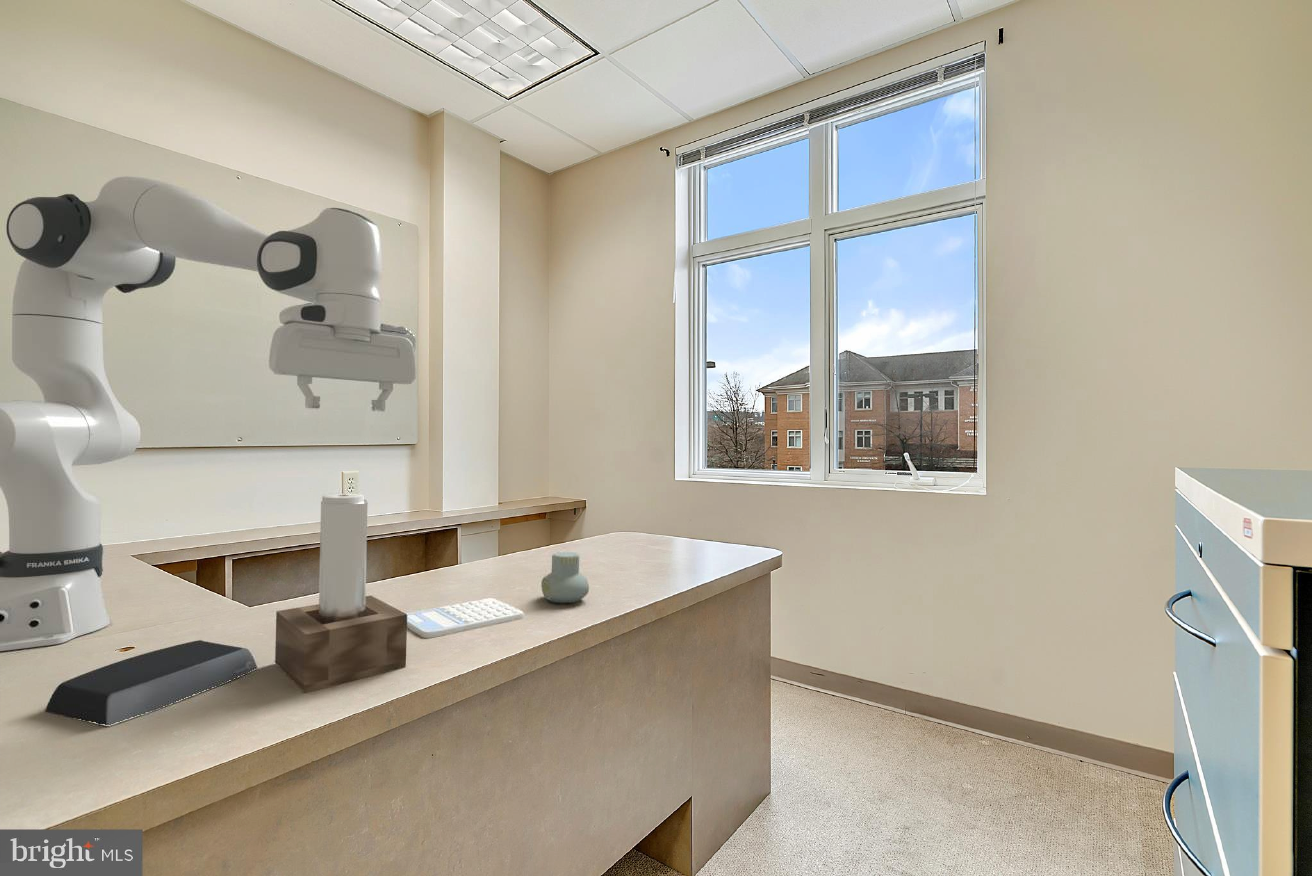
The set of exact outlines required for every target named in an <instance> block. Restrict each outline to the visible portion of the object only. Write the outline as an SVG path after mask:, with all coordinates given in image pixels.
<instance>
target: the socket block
mask: <svg viewBox="0 0 1312 876" xmlns="http://www.w3.org/2000/svg"><path fill="white" fill-rule="evenodd" d="M275 614H276V616H275V617H276V619H275V646H274V648H275V650H274V651H275V652H274V653H275V655H274V659H275V660H274V664H275V663H276V664H277V665H278V666H279V667H280V668H281V669H282V670H283V671H284V672H285V673H286V674H287V675H286V674H285V673H284V672H283V671H282V670H281V669H280V668H279V667H278V666H277V665H276V664H275V665H276V666H277V667H278V668H279V669H280V670H281V671H282V672H283V673H284V674H285V675H286V677H288V676H289V677H288V678H289V679H290V678H291V679H290V680H291V681H292V680H293V681H294V682H293V681H292V682H293V683H294V684H295V683H296V684H295V685H296V686H297V685H298V686H297V688H299V689H300V690H301V691H302V692H303V693H309V692H313V691H316V690H320V689H324V688H328V687H331V686H335V685H339V684H343V683H347V682H351V681H356V680H359V679H363V678H366V677H370V676H375V675H379V674H383V673H386V672H389V671H394V670H398V669H401V668H405V667H407V642H408V641H407V640H408V639H407V636H408V633H407V631H408V627H407V614H405V612H404V611H401V610H400V609H398V608H396V607H394V606H392V605H390V604H388V603H386V602H384V601H382V600H381V599H379V598H377V597H375V596H374V595H367V596H366V600H365V617H359V618H354V619H349V620H344V621H338V622H333V623H328V624H321V623H319V603H318V604H312V605H306V606H300V607H293V608H289V609H288V608H287V609H281V610H276V612H275ZM312 690H313V691H312Z"/></svg>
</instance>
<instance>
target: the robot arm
mask: <svg viewBox="0 0 1312 876" xmlns="http://www.w3.org/2000/svg"><path fill="white" fill-rule="evenodd" d="M5 226H6V235H7V239H8V241H9V244H10V246H11V247H12V248H13V250H14V252H15V253H16V254H18V255H19V256H21V257H23V259H24V260H23V261H22V262H21V264H20V266H19V270H18V273H17V275H16V280H15V285H14V290H13V296H12V298H13V299H12V309H11V310H12V313H11V359H12V363H14V366H15V367H16V368H17V369H18V370H19V371H21V373H23V374H25V375H27V376H28V377H30V378H31V379H32V380H33V381H34V382H35V383H36V385H37V386H38V388H39V389H40V391H41V394H42V395H43V399H44V401H41V400H40V401H39V400H38V401H37V400H19V399H17V400H5V401H0V490H1V491H2V494H3V496H4V498H5V501H6V504H7V510H8V539H9V540H8V541H9V542H8V550H6V551H4V552H3V551H0V652H3V651H5V652H6V651H11V650H13V651H15V650H20V649H28V648H35V647H45V646H53V645H59V644H62V643H65V642H68V641H70V640H72V639H74V638H76V637H80V636H83V635H85V634H86V635H87V634H89V633H92V632H96V631H98V630H101V629H103V628H105V627H107V626H108V625H109V624H110V623H111V619H110V615H109V613H108V611H107V608H106V604H105V599H104V595H103V589H102V582H101V576H102V575H103V572H104V566H105V565H104V564H105V561H104V559H105V555H104V553H105V551H104V546H103V544H102V543H101V542H100V540H101V508H102V507H101V502H100V500H99V498H97V496H95V495H94V494H93V493H92V492H91V493H90V492H89V491H86V490H84V489H83V488H82V487H81V486H80V485H79V484H78V481H77V480H76V478H75V475H74V471H73V466H91V465H92V466H93V465H100V464H101V465H102V464H107V463H109V462H114V461H117V460H121V459H124V458H127V457H129V456H130V455H132V453H134V452H135V451H136V449H137V448H138V446H139V445H140V442H141V434H142V433H141V427H140V424H139V422H138V420H137V419H136V417H135V416H133V414H131V413H130V412H129V411H128V410H127V409H125V408H124V407H123V405H122V404H121V403H120V402H119V401H118V399H117V397H116V395H115V393H114V392H113V390H112V387H111V385H110V383H109V382H110V381H109V380H108V377H107V374H106V369H105V362H104V361H105V360H104V336H103V335H104V331H103V330H104V329H103V328H104V327H103V326H104V325H103V324H104V317H103V315H104V314H103V300H104V296H105V294H106V293H107V292H108V291H109V290H110V289H111V288H113V287H115V288H116V289H117V290H118V291H120V292H121V293H123V294H126V293H127V294H128V293H133V292H135V291H136V290H139V289H141V290H142V289H147V288H153V287H157V286H161V285H162V284H164V283H165V282H166V281H168V280H169V279H170V277H171V276H172V274H173V273H174V270H175V268H176V258H177V259H183V260H187V261H193V262H199V263H204V264H211V265H218V266H223V267H230V268H236V269H241V270H248V271H252V272H258V275H259V277H260V279H261V281H262V282H263V284H264V285H265V286H267V288H269V289H270V290H273V291H275V292H277V293H279V294H281V295H286V296H288V297H292V298H294V299H298V300H301V301H305V302H306V303H303V304H296V305H292V306H288V307H285V308H284V309H282V310H281V311H280V312H279V315H278V319H279V322H280V323H281V326H279V327H278V328H276V329H275V331H274V333H273V335H272V339H271V343H270V348H269V357H268V358H269V359H268V368H269V369H270V371H272V373H273V374H274V375H279V376H280V375H281V376H291V377H292V376H293V377H297V378H296V381H297V382H296V384H297V386H298V387H299V389H300V391H301V392H302V394H303V395H304V397H305V398H304V401H305V402H304V405H305V408H306V409H318V410H319V409H320V407H321V403H320V402H321V396H317V395H314V392H313V391H312V390H311V388H310V386H309V385H312V384H313V378H320V379H328V380H331V379H333V380H345V381H356V382H357V381H358V382H369V383H378V389H379V390H380V391H381V390H382V391H381V392H380V394H379V396H378V397H377V399H371V412H385V411H386V401H387V400H388V399H389V396H390V395H391V394H392V392H393V390H394V384H396V385H411V384H412V383H414V382H415V380H416V379H417V364H416V363H417V362H416V355H415V351H416V348H417V347H416V345H417V344H416V343H417V341H416V340H417V339H416V336H415V335H414V334H413V332H411V330H408V328H407V327H404V326H396V325H395V326H394V325H391V324H384V323H382V320H381V318H382V299H381V294H380V289H379V288H380V282H381V279H382V276H383V248H382V238H381V234H380V230H379V227H378V226H377V225H376V223H375V222H373V221H372V220H370V219H369V218H367V217H366V216H364V215H362V214H360V213H358V212H354V211H352V210H349V209H345V208H339V207H338V208H337V207H327V208H325V209H323V210H321V212H320V213H319V215H318V216H317V217H316V218H315V219H313V220H312V221H310V222H308V223H307V224H304V225H302V226H299V227H297V228H294V229H290V230H278V231H276V232H273V233H271V234H268V233H266V232H264V231H263V230H261V229H258V228H256V227H255V226H254V225H252V224H250V223H249V222H246V221H245V220H243V219H241V218H240V217H238V216H236V215H235V214H232V213H231V212H229V211H228V210H226V209H224V208H223V207H220V206H219V205H217V204H215V202H212V201H210V200H208V199H206V198H205V197H203V196H201V195H199V194H197V193H195V192H193V191H191V190H189V189H186V188H183V187H180V186H178V185H175V184H171V183H168V182H165V181H160V180H157V179H152V178H147V177H146V178H145V177H140V176H129V175H128V176H127V175H126V176H119V177H115V178H112V179H111V180H108V181H106V182H105V184H104V185H103V186H102V187H101V189H100V190H99V193H98V195H97V197H96V199H94V200H92V201H82V199H80V198H79V197H78V196H76V195H75V194H72V193H65V194H61V195H59V196H35V197H31V198H28V199H26V200H23V201H21V202H19V203H18V204H16V205H15V206H13V208H12V209H11V210H10V213H9V214H8V216H7V219H6V225H5ZM307 302H308V303H307Z"/></svg>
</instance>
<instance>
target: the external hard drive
mask: <svg viewBox="0 0 1312 876" xmlns="http://www.w3.org/2000/svg"><path fill="white" fill-rule="evenodd" d="M256 668H258V666H257V662H256V661H255V658H254V656H253V655H252V652H251V651H250V650H249V649H248V648H246V647H239V646H232V645H230V644H229V645H228V644H222V643H215V642H210V641H206V640H205V641H204V640H202V639H199V640H194V641H193V640H192V641H188V642H185V643H180V644H176V645H172V646H168V647H163V648H161V649H157V650H152V651H149V652H146V653H142V654H138V655H136V656H132V657H129V658H126V659H123V660H120V661H116V662H113V663H110V664H107V665H104V666H101V667H99V668H97V669H93V670H91V671H88V672H86V673H83V674H81V675H80V674H79V675H78V676H75V677H73V678H69V679H68V680H64V681H63V682H62V683H60V684H59V685H57V686H56V688H55V690H54V691H53V693H52V695H51V697H50V698H49V700H48V702H47V705H46V707H45V712H46V713H49V714H53V715H57V716H61V715H63V717H65V718H69V717H71V718H70V719H73V718H76V719H75V720H77V719H81V720H85V721H91V722H96V723H98V724H105V725H111V724H114V723H116V722H120V721H123V720H125V719H129V718H131V717H135V716H137V715H141V714H145V713H146V712H150V711H153V710H156V709H158V708H162V707H163V706H166V705H169V704H171V703H174V702H176V701H179V700H181V699H184V698H186V697H189V696H192V695H193V694H197V693H199V692H202V691H204V690H207V689H211V688H212V687H215V686H218V685H220V684H222V683H225V682H227V681H229V680H232V681H234V680H233V679H234V678H237V677H238V676H241V675H243V674H246V673H248V672H250V671H252V670H254V669H256ZM250 673H251V672H250ZM248 674H249V673H248ZM246 675H247V674H246ZM237 679H238V678H237ZM225 684H226V683H225ZM220 686H221V685H220ZM218 687H219V686H218ZM215 688H216V687H215ZM211 690H212V689H211ZM162 709H163V708H162ZM156 711H157V710H156ZM153 712H154V711H153ZM145 715H146V714H145ZM81 720H80V721H81ZM85 721H84V722H85Z"/></svg>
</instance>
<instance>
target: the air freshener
mask: <svg viewBox="0 0 1312 876" xmlns="http://www.w3.org/2000/svg"><path fill="white" fill-rule="evenodd" d="M551 555H552V556H551V572H550V573H548V574H546V575H545V576H543V578H542V579H541V586H540V587H541V591H542V594H543V596H544V598H545V599H547V600H548V601H549V602H551V601H552V602H551V603H554V602H555V604H570V603H571V602H572V603H576V602H579V601H580V600H582V599H583V598H585V597H586V596H587V595H588V594H589V590H590V585H589V582H588V579H587V577H586V576H585V575H584V574H582V573H581V572H580V554H579V553H577V552H574V551H559V552H558V551H557V552H554V553H553V554H551ZM572 603H571V604H572Z"/></svg>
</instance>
